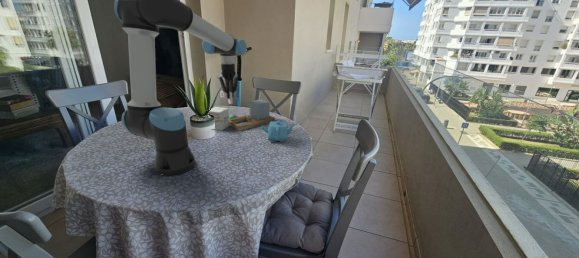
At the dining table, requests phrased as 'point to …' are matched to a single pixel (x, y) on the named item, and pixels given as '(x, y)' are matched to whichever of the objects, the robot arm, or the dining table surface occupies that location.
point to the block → (259, 109)
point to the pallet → (252, 122)
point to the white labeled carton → (220, 117)
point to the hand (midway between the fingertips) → (230, 103)
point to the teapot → (278, 131)
